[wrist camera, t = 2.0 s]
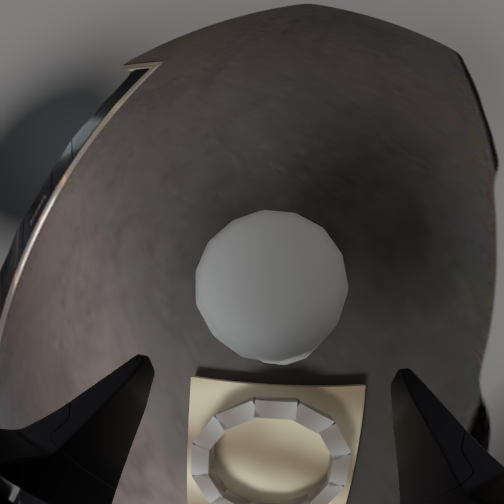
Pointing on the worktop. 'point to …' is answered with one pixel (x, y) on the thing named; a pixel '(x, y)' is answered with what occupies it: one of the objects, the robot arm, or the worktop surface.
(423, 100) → the worktop surface
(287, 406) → the ring stand
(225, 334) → the salt shaker
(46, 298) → the worktop surface
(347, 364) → the worktop surface
